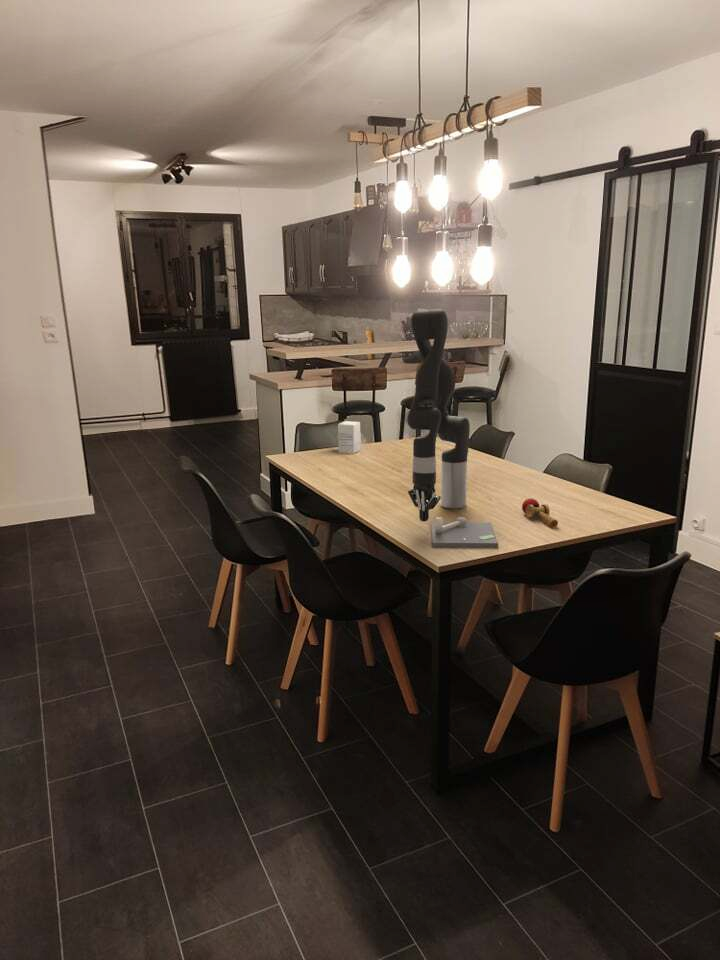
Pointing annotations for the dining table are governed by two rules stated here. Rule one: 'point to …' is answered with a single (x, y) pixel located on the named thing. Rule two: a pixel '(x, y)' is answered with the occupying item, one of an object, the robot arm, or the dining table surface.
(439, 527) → the pale grey bar
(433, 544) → the dial plate
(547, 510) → the kendama
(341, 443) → the supplement box
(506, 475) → the dining table surface
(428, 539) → the dining table surface
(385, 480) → the dining table surface
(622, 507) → the dining table surface
